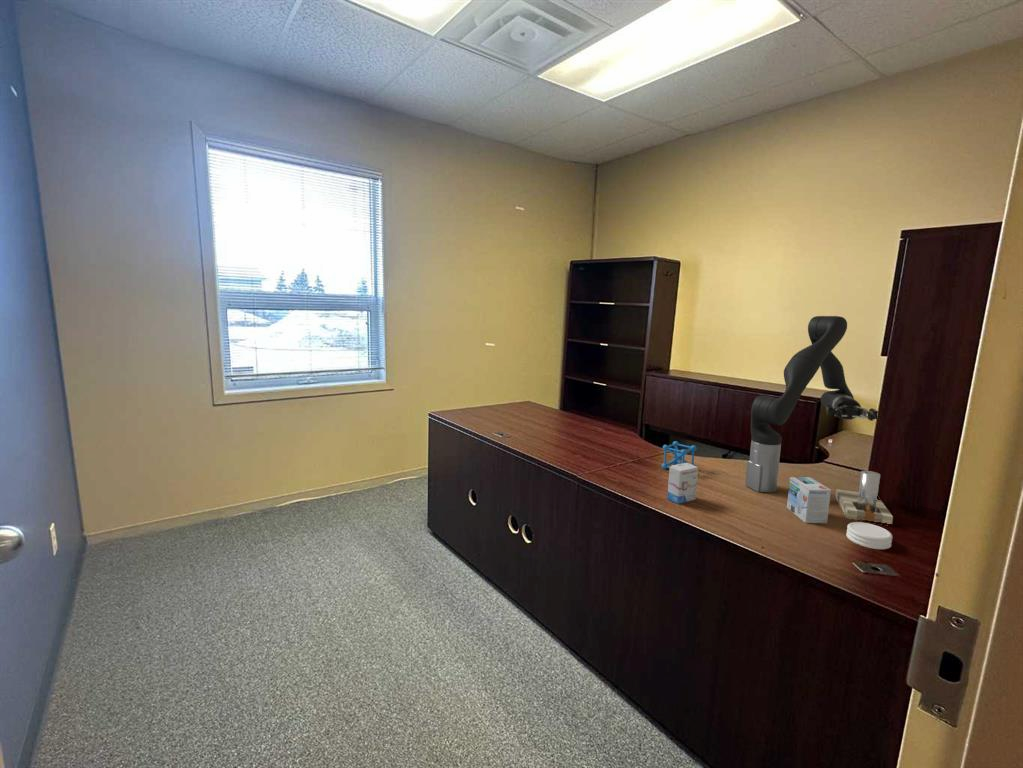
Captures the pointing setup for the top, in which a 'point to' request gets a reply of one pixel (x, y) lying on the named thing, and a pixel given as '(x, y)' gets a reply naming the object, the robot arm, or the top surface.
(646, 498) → the top surface
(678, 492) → the ink box
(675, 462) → the molecular structure
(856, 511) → the hub plate
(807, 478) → the light bulb box
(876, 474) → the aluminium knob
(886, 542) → the coaster
